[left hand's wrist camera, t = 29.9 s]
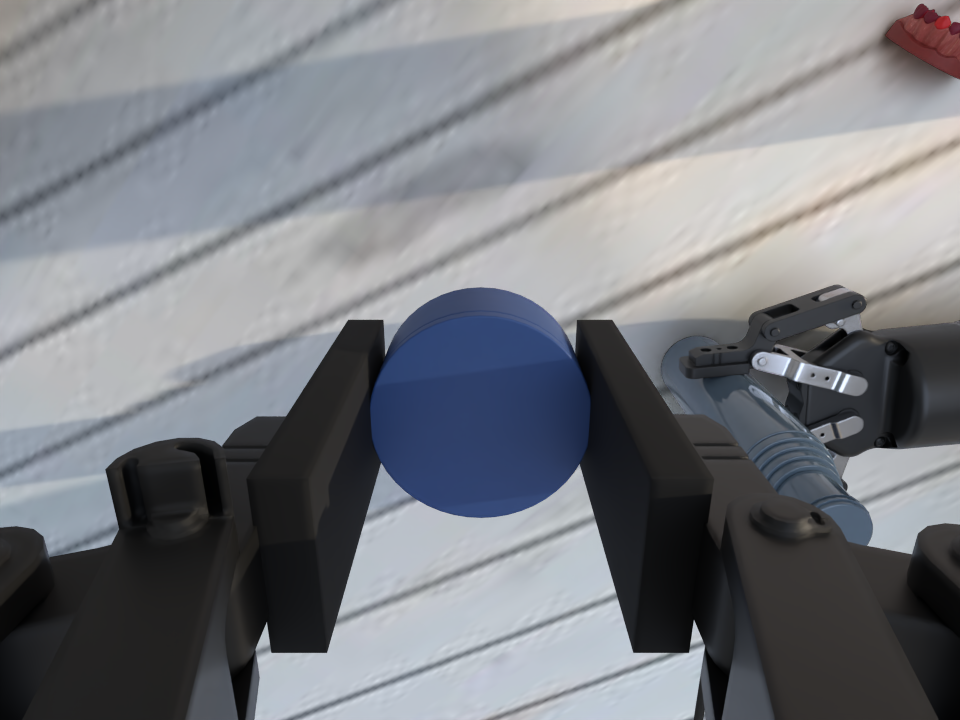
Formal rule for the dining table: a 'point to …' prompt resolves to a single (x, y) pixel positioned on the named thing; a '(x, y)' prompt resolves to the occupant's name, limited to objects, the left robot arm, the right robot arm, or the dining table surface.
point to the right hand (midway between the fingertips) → (683, 407)
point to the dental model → (929, 39)
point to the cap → (480, 404)
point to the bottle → (769, 438)
